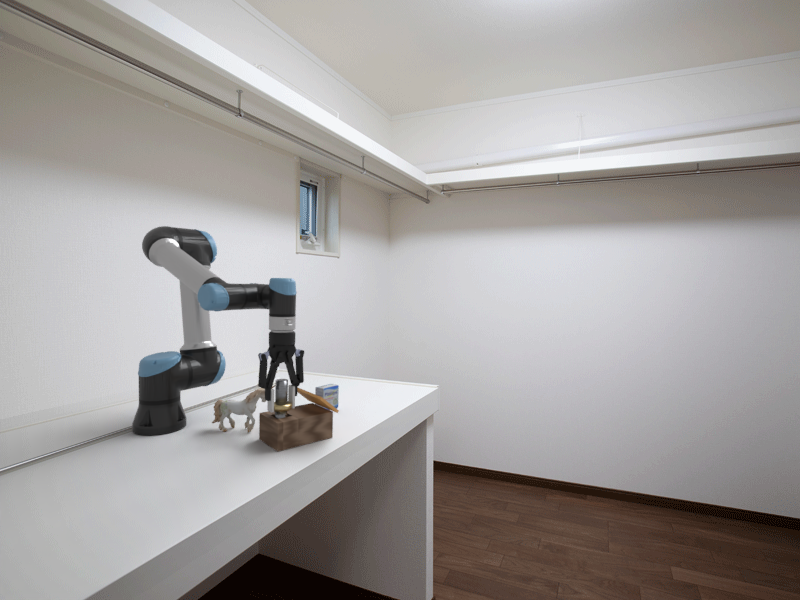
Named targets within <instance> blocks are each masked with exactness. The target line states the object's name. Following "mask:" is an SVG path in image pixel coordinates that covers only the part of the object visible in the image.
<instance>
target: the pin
mask: <svg viewBox="0 0 800 600" xmlns="http://www.w3.org/2000/svg"><path fill="white" fill-rule="evenodd" d="M274 385H275V387H274V388H275V389H274V411H275V418H277V419H280V418H284V417H287V411H289V410H291V409H292V403H291V402H289V401H288V385H289V379H287V378H278V379H275V384H274Z"/></svg>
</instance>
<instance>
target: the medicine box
mask: <svg viewBox="0 0 800 600" xmlns="http://www.w3.org/2000/svg"><path fill="white" fill-rule="evenodd" d="M339 387H340V386H339V384H335V383H329V384H328V383H327V384H324V385H319V386H316V387H315V393H314V394H315V395H318V396H320V397H322V398H323V399H325V400H326V401H327V402H329V403H330V404H331V405H332V406H334V407H335V408H336V409H338V408H339V393H340V391H339ZM316 405H318V404H316ZM318 406H320V405H318ZM321 407H322V406H321ZM323 408H325V407H323ZM325 409H327V408H325ZM328 410H329V409H328Z"/></svg>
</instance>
